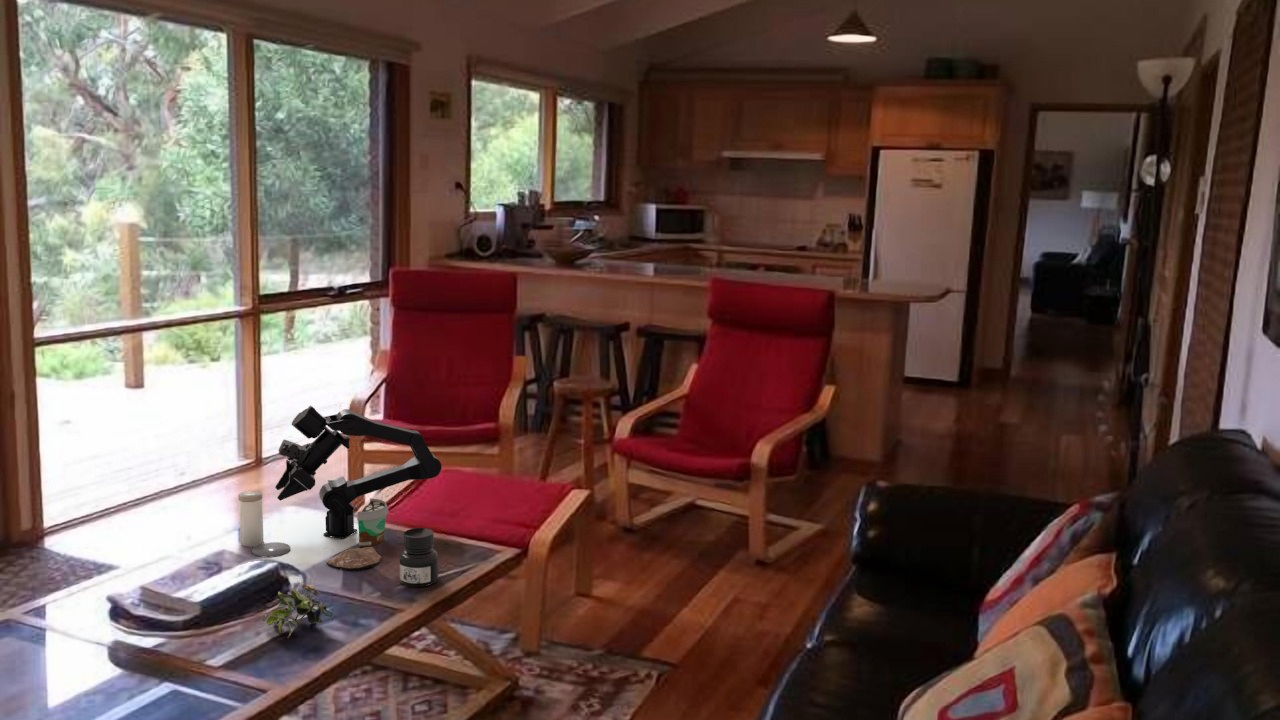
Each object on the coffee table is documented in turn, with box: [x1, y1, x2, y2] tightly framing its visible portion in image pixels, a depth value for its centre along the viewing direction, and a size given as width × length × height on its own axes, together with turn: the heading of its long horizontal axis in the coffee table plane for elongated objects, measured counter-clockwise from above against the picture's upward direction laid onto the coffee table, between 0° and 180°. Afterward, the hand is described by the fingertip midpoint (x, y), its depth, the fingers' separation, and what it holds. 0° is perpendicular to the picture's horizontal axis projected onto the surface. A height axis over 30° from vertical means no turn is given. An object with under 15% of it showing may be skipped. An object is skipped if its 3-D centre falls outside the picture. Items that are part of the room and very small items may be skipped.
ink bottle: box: [399, 527, 439, 588], centre depth 244 cm, size 10×9×12 cm
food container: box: [356, 497, 390, 548], centre depth 268 cm, size 12×6×10 cm, turn 179°
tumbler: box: [238, 490, 264, 547], centre depth 265 cm, size 6×6×13 cm
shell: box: [325, 547, 382, 572], centre depth 255 cm, size 12×13×4 cm
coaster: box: [251, 541, 291, 558], centre depth 261 cm, size 9×9×1 cm
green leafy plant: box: [261, 584, 334, 639], centre depth 216 cm, size 11×11×12 cm
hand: (277, 494), depth 266 cm, fingers open, 9 cm apart
